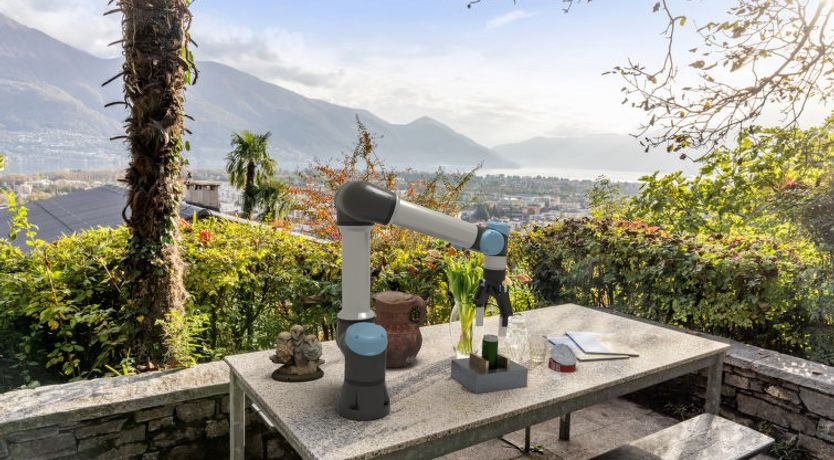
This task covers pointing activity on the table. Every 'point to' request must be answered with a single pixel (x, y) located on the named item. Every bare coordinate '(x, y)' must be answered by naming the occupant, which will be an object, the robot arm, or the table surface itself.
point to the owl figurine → (297, 356)
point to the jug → (399, 325)
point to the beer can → (490, 350)
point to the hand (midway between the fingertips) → (490, 331)
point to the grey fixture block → (488, 374)
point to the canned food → (562, 359)
